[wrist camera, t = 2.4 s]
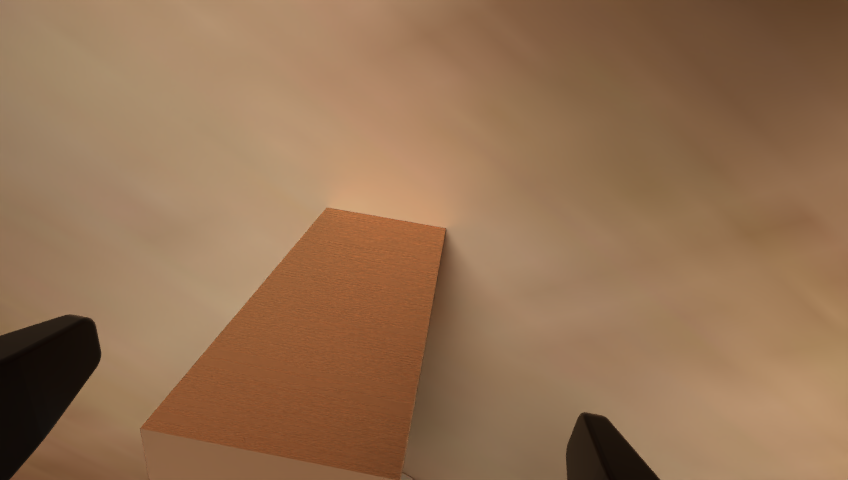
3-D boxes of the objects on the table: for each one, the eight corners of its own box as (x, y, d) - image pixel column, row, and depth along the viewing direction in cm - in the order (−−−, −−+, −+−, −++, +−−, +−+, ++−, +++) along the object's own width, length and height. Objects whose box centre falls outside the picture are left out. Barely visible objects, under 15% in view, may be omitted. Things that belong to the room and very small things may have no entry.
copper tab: (321, 307, 13) (166, 580, 7) (326, 207, 12) (140, 428, 5) (428, 327, 13) (374, 625, 6) (445, 228, 11) (398, 480, 5)
